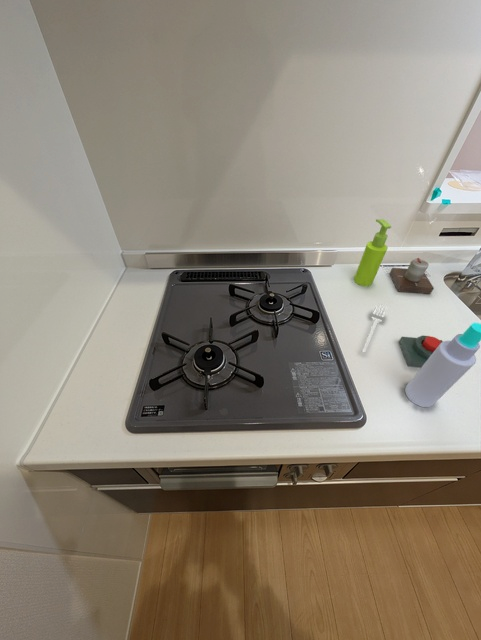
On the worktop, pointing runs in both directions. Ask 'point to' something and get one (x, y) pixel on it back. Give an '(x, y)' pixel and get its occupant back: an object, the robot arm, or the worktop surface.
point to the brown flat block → (410, 282)
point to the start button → (431, 343)
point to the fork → (373, 326)
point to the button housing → (414, 351)
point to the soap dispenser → (372, 256)
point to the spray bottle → (444, 367)
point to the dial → (416, 270)
